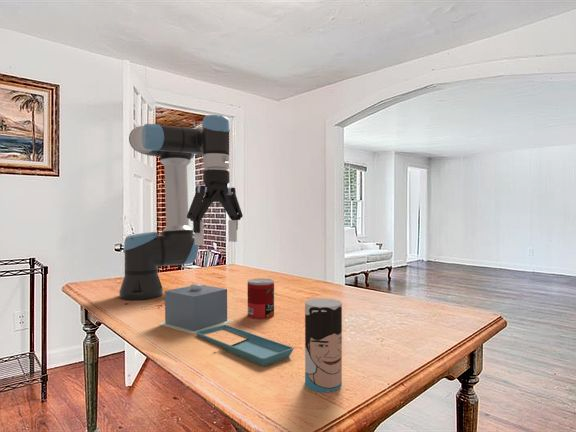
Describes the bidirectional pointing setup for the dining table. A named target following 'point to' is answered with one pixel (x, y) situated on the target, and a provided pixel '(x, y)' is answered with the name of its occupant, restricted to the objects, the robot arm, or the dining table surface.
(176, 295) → the cover
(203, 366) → the dining table surface
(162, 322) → the mat
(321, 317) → the printed grey cylinder
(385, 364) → the dining table surface
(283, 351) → the shallow long dish
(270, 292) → the canned food
